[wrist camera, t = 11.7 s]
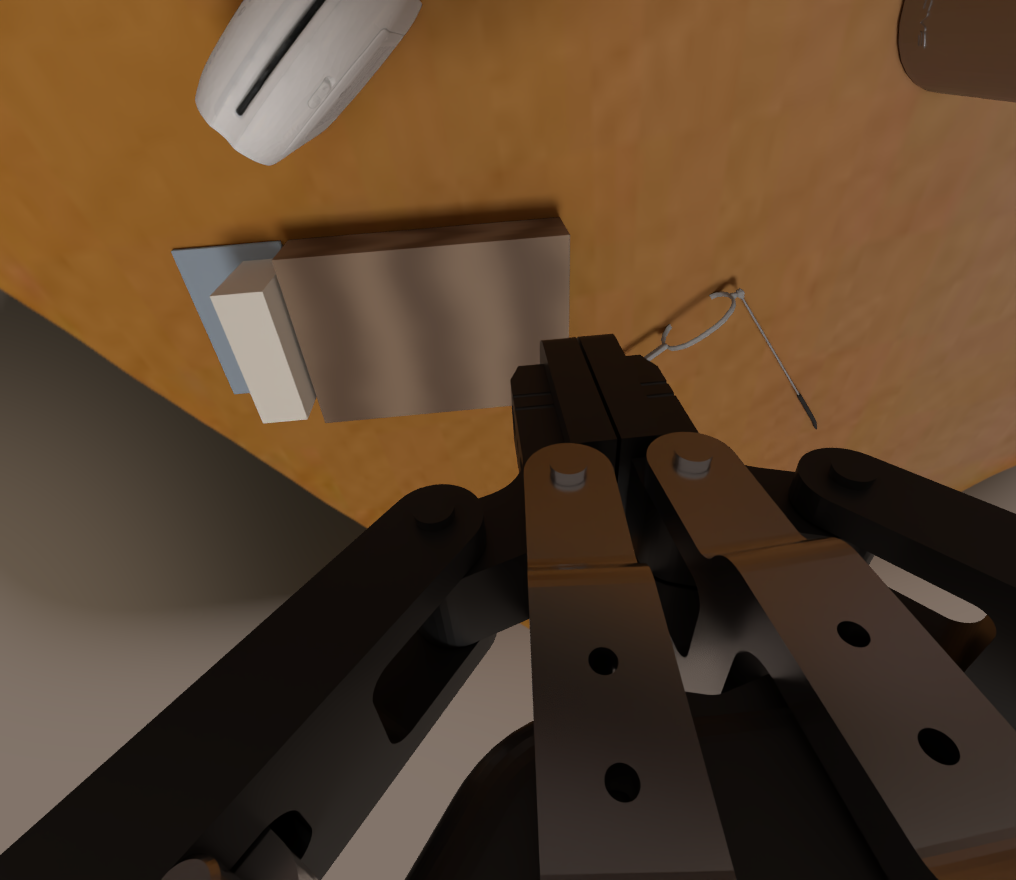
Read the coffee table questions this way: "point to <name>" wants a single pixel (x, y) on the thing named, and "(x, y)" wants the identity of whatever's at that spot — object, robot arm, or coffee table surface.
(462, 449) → the coffee table surface
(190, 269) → the mat
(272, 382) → the cream rectangular block
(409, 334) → the brown flat block
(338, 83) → the photo printer
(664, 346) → the eyeglasses
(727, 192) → the coffee table surface
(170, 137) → the coffee table surface
